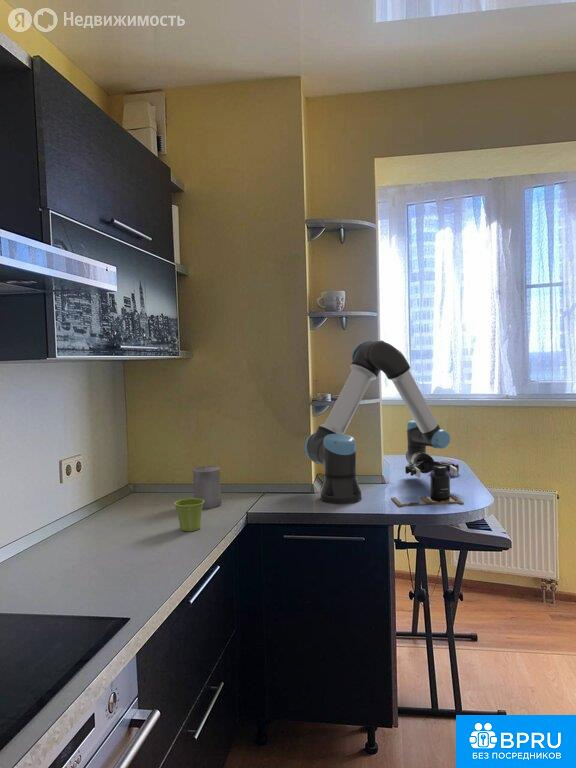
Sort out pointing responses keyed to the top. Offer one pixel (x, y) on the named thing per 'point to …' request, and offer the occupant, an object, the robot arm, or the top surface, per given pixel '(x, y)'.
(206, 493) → the pillar candle
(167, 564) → the top surface
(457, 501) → the flat wooden frame
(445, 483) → the supplement bottle
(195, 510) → the plant pot
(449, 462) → the tape roll
